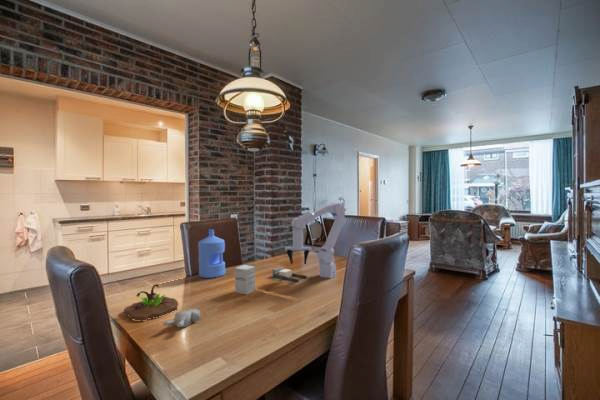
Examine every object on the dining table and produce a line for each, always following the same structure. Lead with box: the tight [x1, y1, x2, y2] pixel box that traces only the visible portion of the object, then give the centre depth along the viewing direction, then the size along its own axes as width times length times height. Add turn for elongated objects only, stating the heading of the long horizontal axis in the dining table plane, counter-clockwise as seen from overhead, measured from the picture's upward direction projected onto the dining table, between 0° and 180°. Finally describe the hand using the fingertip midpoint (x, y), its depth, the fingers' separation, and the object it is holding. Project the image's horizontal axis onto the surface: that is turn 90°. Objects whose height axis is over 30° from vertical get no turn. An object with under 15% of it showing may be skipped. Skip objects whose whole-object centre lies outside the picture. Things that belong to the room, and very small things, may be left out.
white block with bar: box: [274, 268, 293, 277], centre depth 162 cm, size 5×10×4 cm, turn 144°
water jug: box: [197, 228, 227, 279], centre depth 175 cm, size 16×16×28 cm
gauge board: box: [266, 266, 311, 286], centre depth 161 cm, size 22×13×5 cm, turn 54°
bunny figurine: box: [162, 308, 201, 328], centre depth 109 cm, size 10×5×15 cm
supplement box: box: [234, 264, 256, 295], centre depth 144 cm, size 7×7×13 cm
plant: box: [123, 283, 179, 320], centre depth 123 cm, size 20×20×11 cm
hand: (298, 263), depth 160 cm, fingers open, 7 cm apart
